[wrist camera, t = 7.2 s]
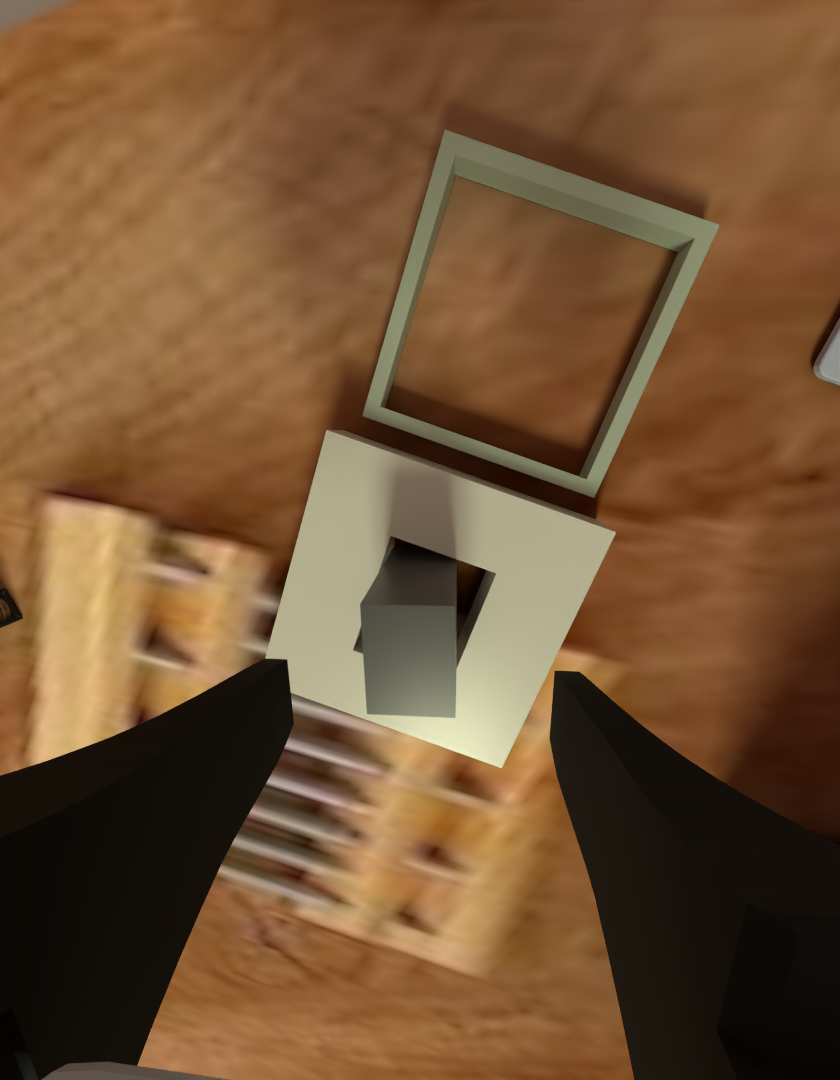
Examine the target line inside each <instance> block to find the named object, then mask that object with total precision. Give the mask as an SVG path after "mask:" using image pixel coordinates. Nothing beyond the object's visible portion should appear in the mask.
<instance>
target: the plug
mask: <svg viewBox="0 0 840 1080" xmlns="http://www.w3.org/2000/svg"><path fill="white" fill-rule="evenodd" d="M360 612H361V628H362V644H363V660H364V676H365V693H366V709H367V714H374V715H398V716H421V717H444V718H455V717H456V669H457V559H454V558H452V557H449V556H446V555H443V554H440V553H437V552H435V551H432V550H429V549H426V548H423V547H394V548H393V549H392V551H391V553H390V555H389V556H388V558H387V560H386V561H385V563H384V565H383V566H382V568H381V570H380V571H379V573H378V575H377V577H376V578H375V580H374V582H373V583H372V585H371V587H370V588H369V590H368V592H367V594H366V595H365V597H364V599H363V600H362V602H361V604H360Z"/></svg>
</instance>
